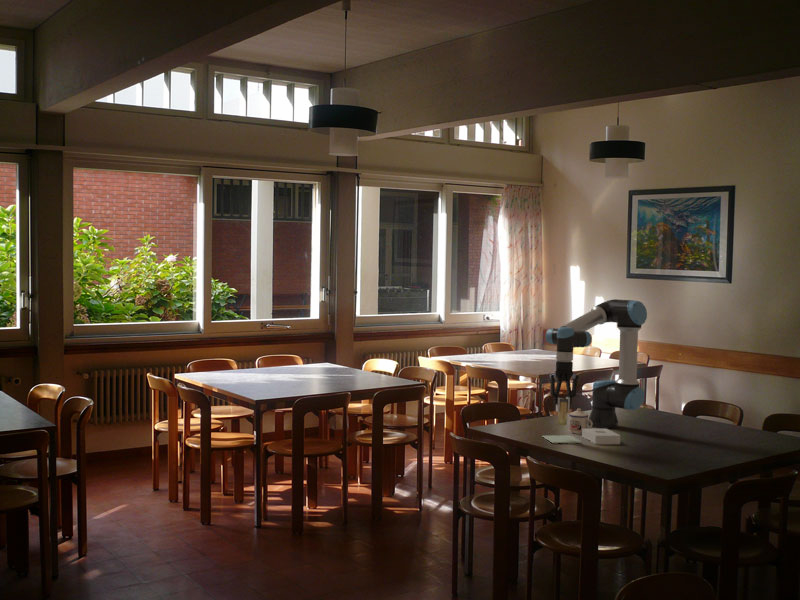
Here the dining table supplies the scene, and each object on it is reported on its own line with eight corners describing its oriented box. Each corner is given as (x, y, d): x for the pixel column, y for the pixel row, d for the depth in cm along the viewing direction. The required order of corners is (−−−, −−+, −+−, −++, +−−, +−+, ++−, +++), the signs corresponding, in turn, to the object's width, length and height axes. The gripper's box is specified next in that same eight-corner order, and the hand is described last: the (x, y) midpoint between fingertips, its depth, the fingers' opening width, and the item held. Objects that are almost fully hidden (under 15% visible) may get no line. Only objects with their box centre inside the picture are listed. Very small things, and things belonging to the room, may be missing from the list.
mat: (542, 437, 383) (542, 435, 383) (570, 437, 385) (570, 435, 385) (552, 444, 369) (552, 442, 369) (581, 444, 371) (581, 441, 371)
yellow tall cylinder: (556, 423, 378) (557, 398, 378) (564, 423, 379) (565, 398, 378) (559, 425, 374) (560, 399, 374) (567, 425, 375) (568, 399, 374)
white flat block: (581, 437, 387) (582, 428, 387) (605, 436, 389) (606, 428, 389) (595, 444, 371) (595, 435, 371) (620, 444, 373) (620, 435, 373)
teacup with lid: (565, 432, 397) (565, 408, 397) (574, 430, 404) (575, 406, 403) (587, 436, 389) (588, 412, 388) (596, 433, 396) (597, 409, 395)
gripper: (549, 361, 370) (547, 412, 371) (585, 362, 373) (583, 413, 374) (543, 359, 378) (542, 410, 379) (579, 360, 381) (577, 410, 381)
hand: (562, 411), depth 376 cm, fingers closed on yellow tall cylinder, 4 cm apart
